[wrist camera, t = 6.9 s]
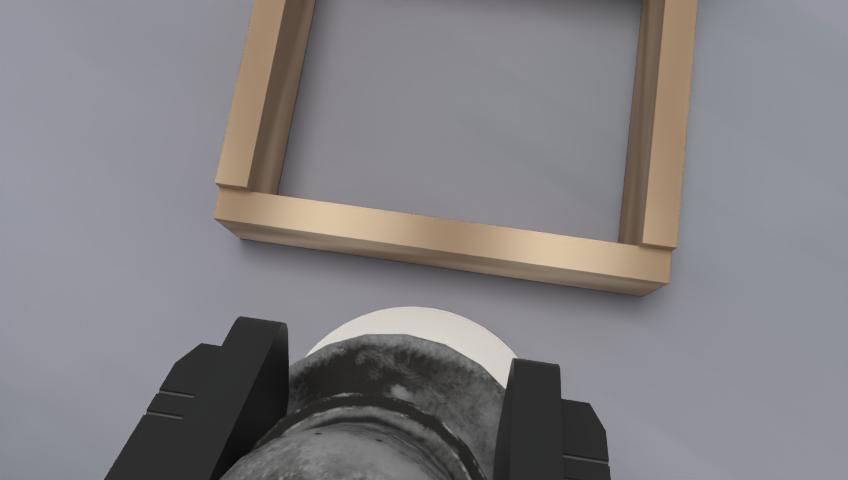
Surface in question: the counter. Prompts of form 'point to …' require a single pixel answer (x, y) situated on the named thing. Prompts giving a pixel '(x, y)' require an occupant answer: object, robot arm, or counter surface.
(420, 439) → the grey tall domed piece
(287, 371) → the robot arm
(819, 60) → the counter surface
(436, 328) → the saucer
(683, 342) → the counter surface
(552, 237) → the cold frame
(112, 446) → the counter surface
